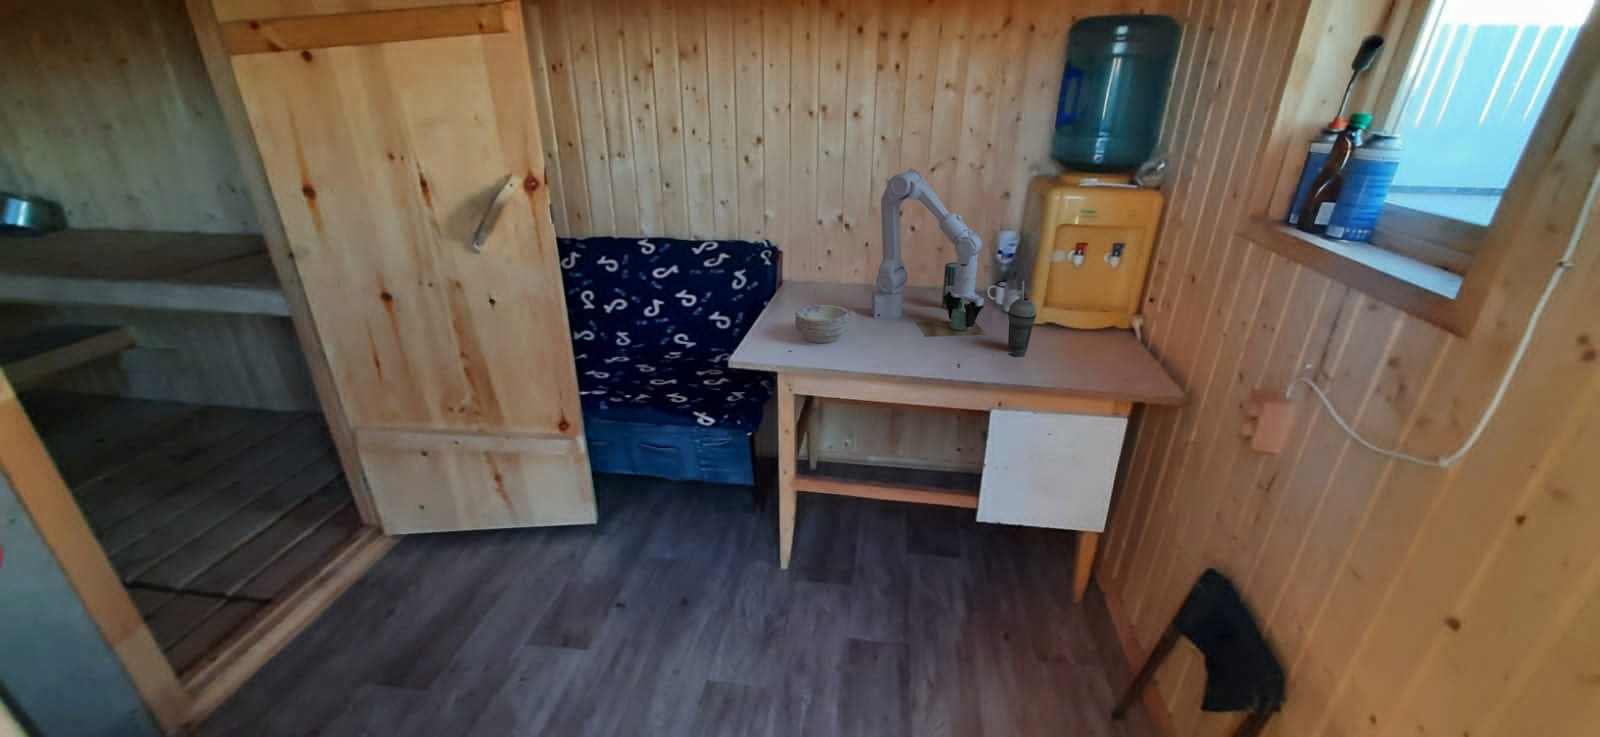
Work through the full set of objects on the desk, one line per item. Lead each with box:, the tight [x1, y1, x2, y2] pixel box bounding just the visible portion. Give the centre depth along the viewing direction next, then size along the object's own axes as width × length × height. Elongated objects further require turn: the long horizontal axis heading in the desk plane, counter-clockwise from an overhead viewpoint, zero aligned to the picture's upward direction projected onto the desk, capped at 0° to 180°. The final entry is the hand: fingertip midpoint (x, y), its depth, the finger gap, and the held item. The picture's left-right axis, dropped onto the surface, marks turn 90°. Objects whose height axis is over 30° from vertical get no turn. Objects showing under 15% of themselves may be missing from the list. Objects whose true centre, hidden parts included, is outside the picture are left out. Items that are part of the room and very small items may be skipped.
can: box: [941, 262, 964, 311], centre depth 207 cm, size 6×6×15 cm
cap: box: [950, 307, 971, 330], centre depth 191 cm, size 5×5×5 cm
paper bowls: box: [794, 304, 850, 344], centre depth 187 cm, size 15×15×8 cm
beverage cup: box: [1007, 280, 1038, 358], centre depth 173 cm, size 7×7×20 cm
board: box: [914, 320, 988, 338], centre depth 192 cm, size 18×12×1 cm, turn 95°
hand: (961, 322), depth 191 cm, fingers open, 7 cm apart
